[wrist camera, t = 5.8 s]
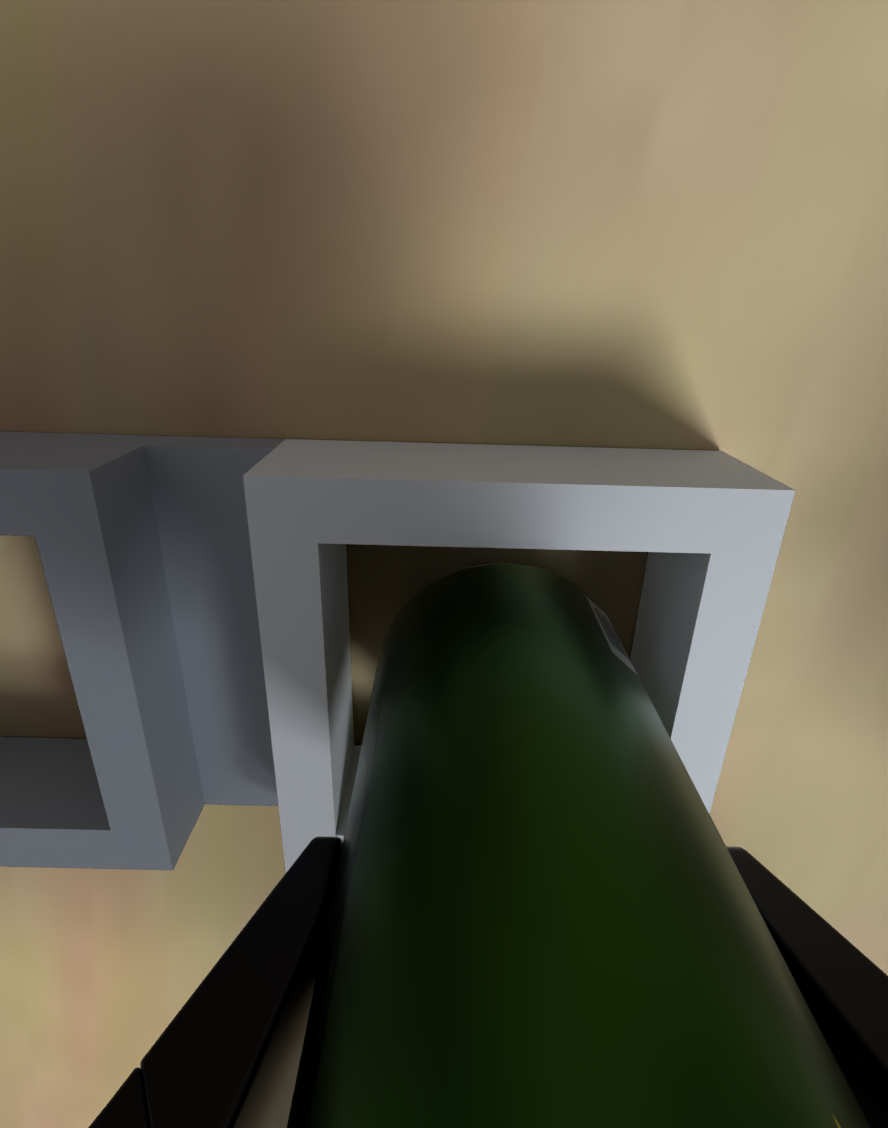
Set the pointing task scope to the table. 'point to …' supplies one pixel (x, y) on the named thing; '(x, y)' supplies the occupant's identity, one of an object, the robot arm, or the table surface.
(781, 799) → the table surface
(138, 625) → the grey double square frame
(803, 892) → the table surface
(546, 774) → the beer can
